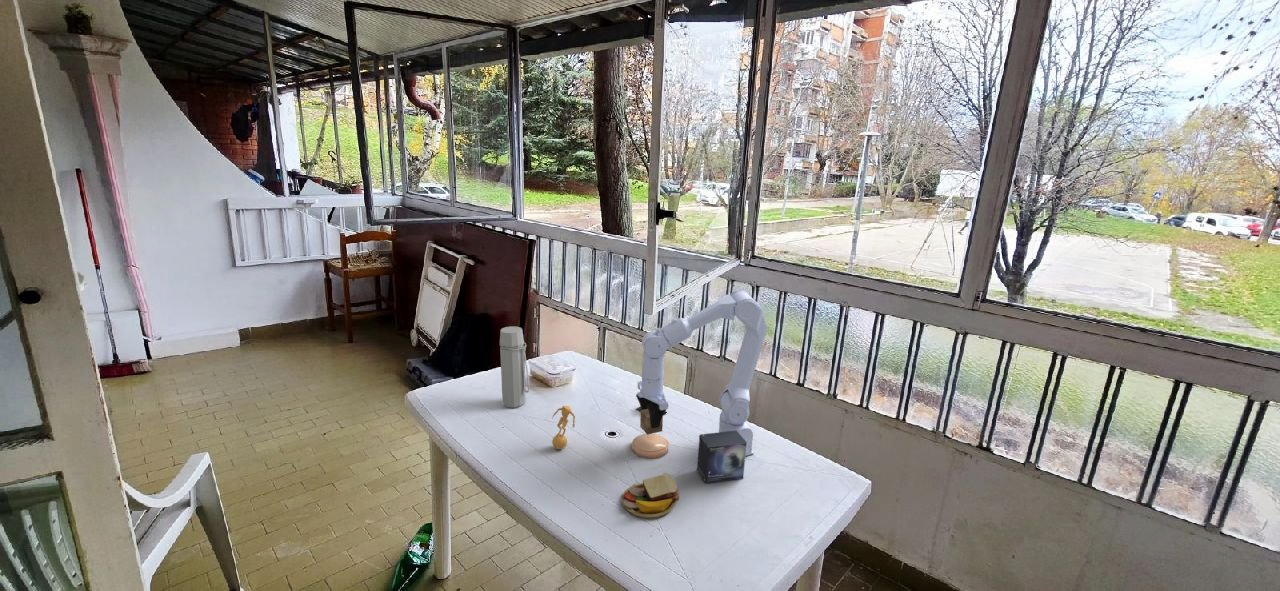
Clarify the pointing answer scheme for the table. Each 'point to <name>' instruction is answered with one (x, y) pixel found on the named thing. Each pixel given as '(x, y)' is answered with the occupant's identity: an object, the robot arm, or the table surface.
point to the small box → (721, 456)
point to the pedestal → (650, 446)
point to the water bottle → (513, 366)
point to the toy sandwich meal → (651, 496)
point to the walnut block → (648, 423)
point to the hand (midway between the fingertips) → (651, 422)
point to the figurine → (560, 439)
